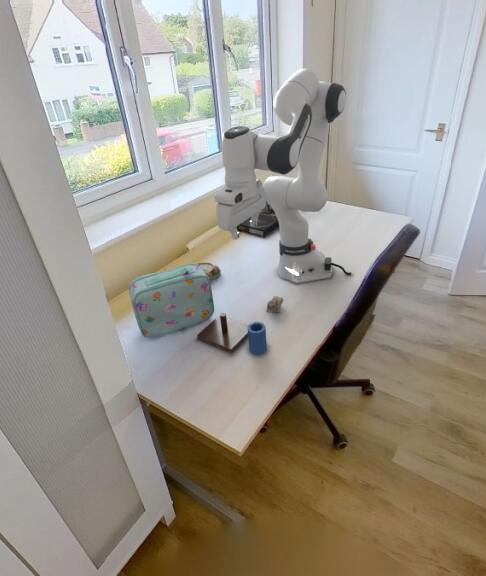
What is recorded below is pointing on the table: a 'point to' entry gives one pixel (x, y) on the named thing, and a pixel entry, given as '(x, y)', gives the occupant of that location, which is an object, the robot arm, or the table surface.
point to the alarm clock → (210, 270)
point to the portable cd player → (260, 225)
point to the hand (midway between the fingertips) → (245, 232)
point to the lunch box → (171, 300)
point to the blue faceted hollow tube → (257, 338)
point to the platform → (224, 334)
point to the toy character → (274, 304)
